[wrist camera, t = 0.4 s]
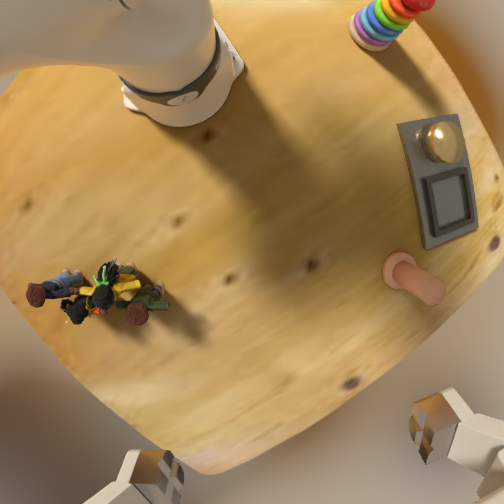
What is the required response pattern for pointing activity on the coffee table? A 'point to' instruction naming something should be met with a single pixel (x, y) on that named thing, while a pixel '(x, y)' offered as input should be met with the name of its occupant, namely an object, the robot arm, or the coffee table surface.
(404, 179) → the coffee table surface
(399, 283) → the pink peg on base
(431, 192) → the carrier plate
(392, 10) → the stacking toy
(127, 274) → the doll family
